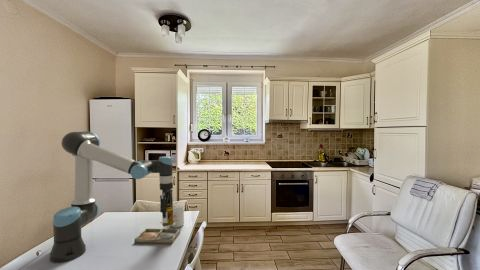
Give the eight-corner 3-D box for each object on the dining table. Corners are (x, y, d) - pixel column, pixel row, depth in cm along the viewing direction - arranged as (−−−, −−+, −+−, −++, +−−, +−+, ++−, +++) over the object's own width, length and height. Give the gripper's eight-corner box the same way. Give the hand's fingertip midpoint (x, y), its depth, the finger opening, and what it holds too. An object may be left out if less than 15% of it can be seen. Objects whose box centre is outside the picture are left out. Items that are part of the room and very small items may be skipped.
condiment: (163, 227, 133) (163, 206, 132) (159, 222, 140) (159, 203, 139) (176, 224, 137) (175, 204, 136) (171, 219, 144) (171, 200, 143)
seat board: (171, 244, 130) (171, 239, 130) (134, 243, 132) (134, 239, 132) (179, 232, 144) (179, 229, 144) (146, 232, 146) (145, 228, 146)
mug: (185, 222, 160) (185, 207, 160) (182, 228, 151) (181, 211, 151) (168, 222, 160) (167, 207, 160) (164, 228, 151) (163, 211, 151)
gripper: (166, 186, 127) (167, 227, 128) (177, 178, 146) (178, 214, 147) (153, 186, 127) (154, 227, 128) (166, 178, 146) (167, 214, 147)
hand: (167, 220), depth 137 cm, fingers closed on condiment, 6 cm apart
